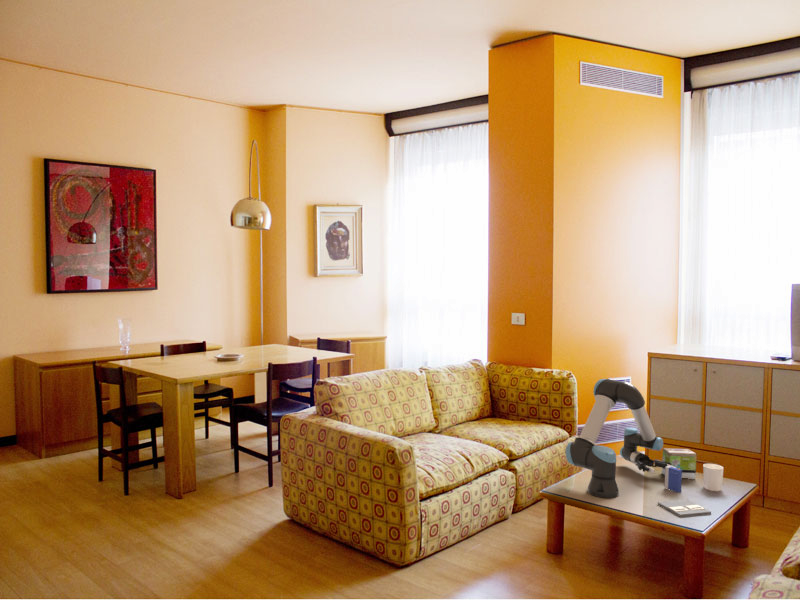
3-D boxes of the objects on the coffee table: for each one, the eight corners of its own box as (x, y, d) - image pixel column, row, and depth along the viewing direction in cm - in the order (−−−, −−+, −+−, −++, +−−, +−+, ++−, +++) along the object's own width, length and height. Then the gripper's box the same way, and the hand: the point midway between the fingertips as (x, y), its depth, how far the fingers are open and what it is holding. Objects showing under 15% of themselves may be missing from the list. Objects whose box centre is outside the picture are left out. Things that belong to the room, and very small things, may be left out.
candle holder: (725, 488, 323) (726, 466, 323) (719, 493, 316) (720, 470, 316) (706, 484, 330) (706, 462, 330) (699, 488, 323) (700, 466, 323)
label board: (680, 517, 283) (680, 513, 283) (657, 504, 298) (657, 501, 298) (710, 514, 287) (711, 510, 287) (687, 501, 303) (687, 498, 303)
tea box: (669, 479, 338) (669, 452, 337) (661, 473, 348) (662, 447, 347) (696, 479, 338) (697, 453, 337) (687, 473, 348) (688, 448, 347)
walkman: (681, 491, 317) (682, 469, 317) (678, 492, 316) (678, 470, 315) (667, 487, 324) (668, 465, 323) (664, 488, 322) (665, 465, 322)
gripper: (659, 464, 351) (684, 476, 330) (620, 467, 345) (644, 479, 324) (659, 451, 351) (684, 462, 330) (621, 454, 345) (644, 465, 324)
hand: (664, 471), depth 327 cm, fingers open, 13 cm apart
